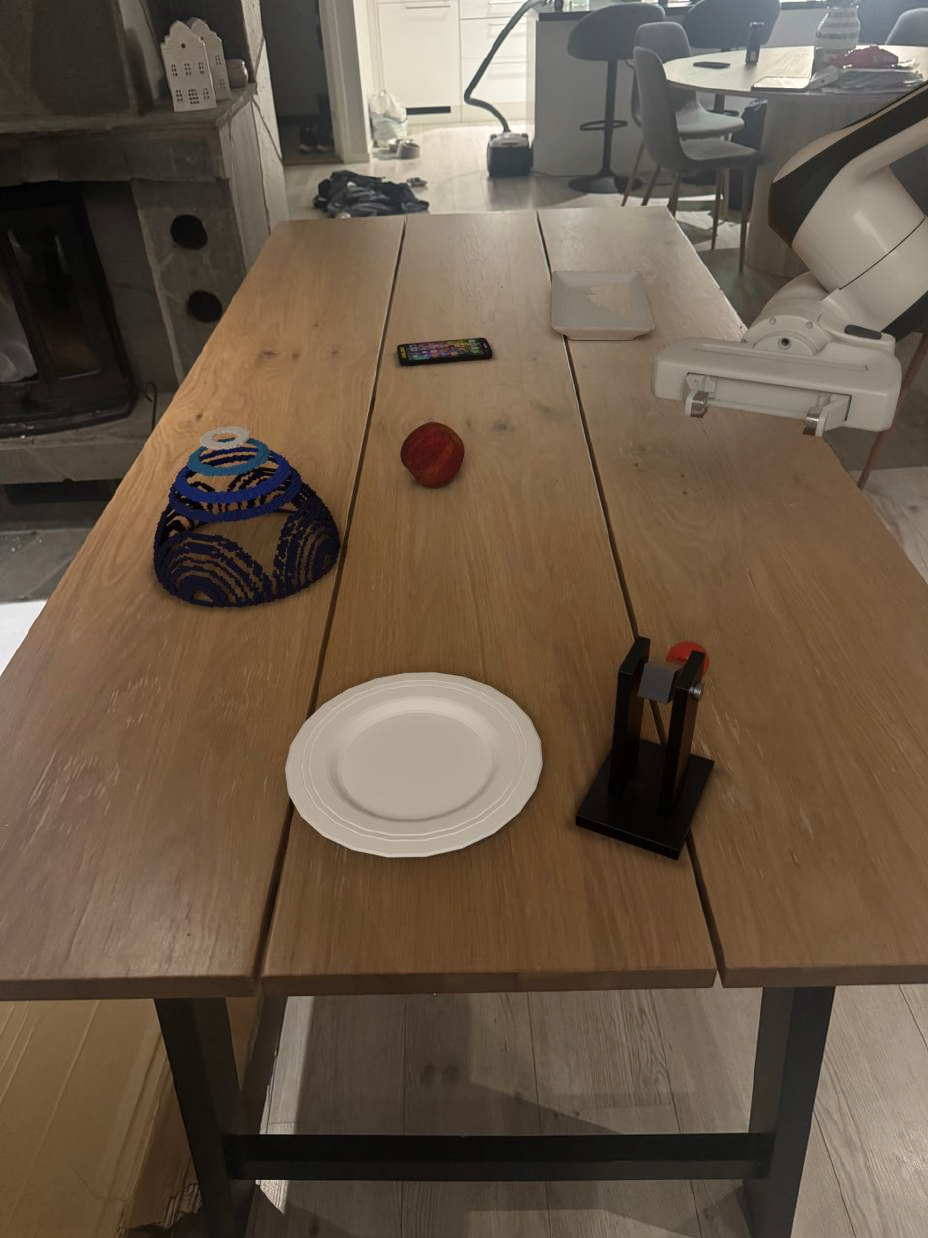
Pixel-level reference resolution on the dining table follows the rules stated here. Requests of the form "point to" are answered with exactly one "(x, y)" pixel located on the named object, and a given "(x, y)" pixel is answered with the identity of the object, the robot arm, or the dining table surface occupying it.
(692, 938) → the dining table surface
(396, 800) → the plate
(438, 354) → the smartphone
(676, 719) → the switch bracket
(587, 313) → the tray
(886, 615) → the dining table surface
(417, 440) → the apple
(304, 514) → the decorative bowl
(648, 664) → the lever
